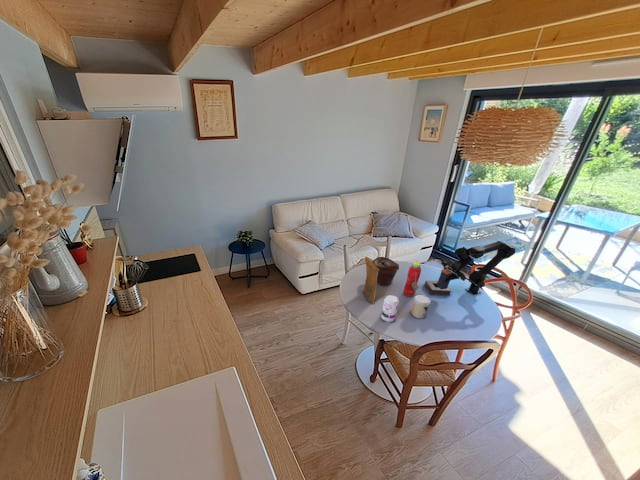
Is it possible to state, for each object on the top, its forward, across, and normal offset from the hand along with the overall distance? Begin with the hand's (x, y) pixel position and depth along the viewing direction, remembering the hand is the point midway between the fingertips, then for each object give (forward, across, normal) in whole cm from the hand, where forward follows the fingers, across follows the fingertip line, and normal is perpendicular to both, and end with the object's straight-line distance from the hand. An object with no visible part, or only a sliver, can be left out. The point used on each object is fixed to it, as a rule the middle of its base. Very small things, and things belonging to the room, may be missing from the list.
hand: (442, 279), depth 191 cm
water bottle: (+23, -4, -4) cm, 24 cm away
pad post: (+4, 0, +6) cm, 7 cm away
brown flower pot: (+29, -26, -10) cm, 40 cm away
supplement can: (+42, +15, -23) cm, 50 cm away
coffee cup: (+28, +16, -8) cm, 33 cm away
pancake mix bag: (+43, -9, -24) cm, 50 cm away
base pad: (+7, -7, +13) cm, 16 cm away
